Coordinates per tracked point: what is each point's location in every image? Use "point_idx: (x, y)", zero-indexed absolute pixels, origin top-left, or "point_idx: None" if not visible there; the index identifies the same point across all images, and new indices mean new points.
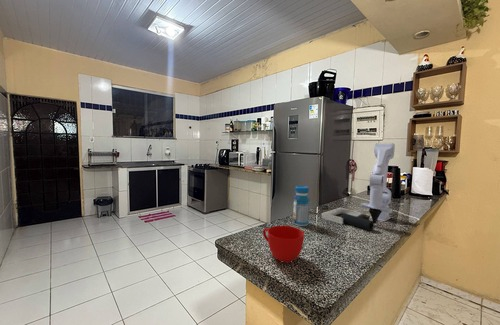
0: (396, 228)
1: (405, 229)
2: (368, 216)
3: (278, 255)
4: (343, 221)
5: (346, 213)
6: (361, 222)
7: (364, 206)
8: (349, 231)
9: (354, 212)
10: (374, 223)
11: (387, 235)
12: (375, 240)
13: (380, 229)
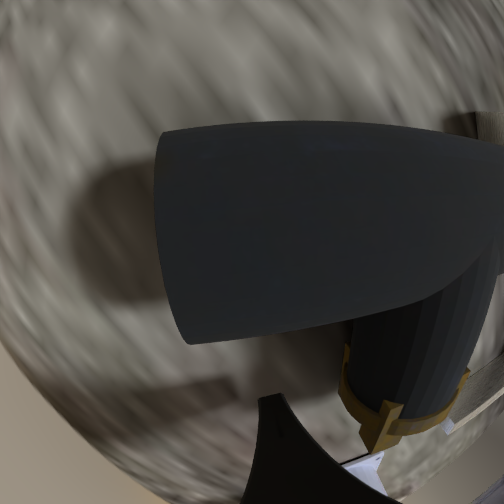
0: (157, 461)
1: (129, 474)
2: (377, 436)
3: None
4: (498, 132)
5: (498, 362)
6: (345, 129)
7: (491, 498)
8: None
9: (476, 401)
10: (262, 399)
11: (20, 267)
12: (7, 21)
13: (175, 366)
